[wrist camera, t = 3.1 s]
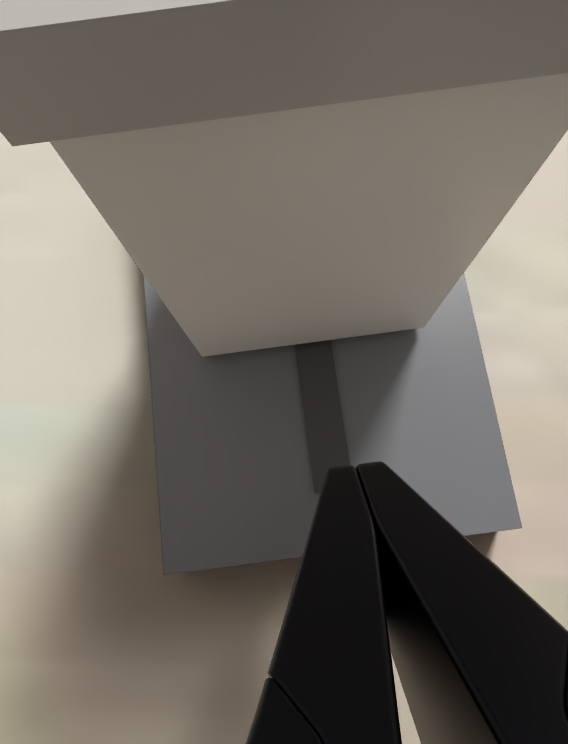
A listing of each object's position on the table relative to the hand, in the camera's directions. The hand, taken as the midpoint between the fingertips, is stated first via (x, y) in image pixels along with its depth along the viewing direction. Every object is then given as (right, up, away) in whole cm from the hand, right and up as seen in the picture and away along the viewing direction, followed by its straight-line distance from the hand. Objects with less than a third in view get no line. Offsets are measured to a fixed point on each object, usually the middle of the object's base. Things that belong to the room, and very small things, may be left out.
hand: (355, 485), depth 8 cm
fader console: (-1, +7, +9) cm, 11 cm away
